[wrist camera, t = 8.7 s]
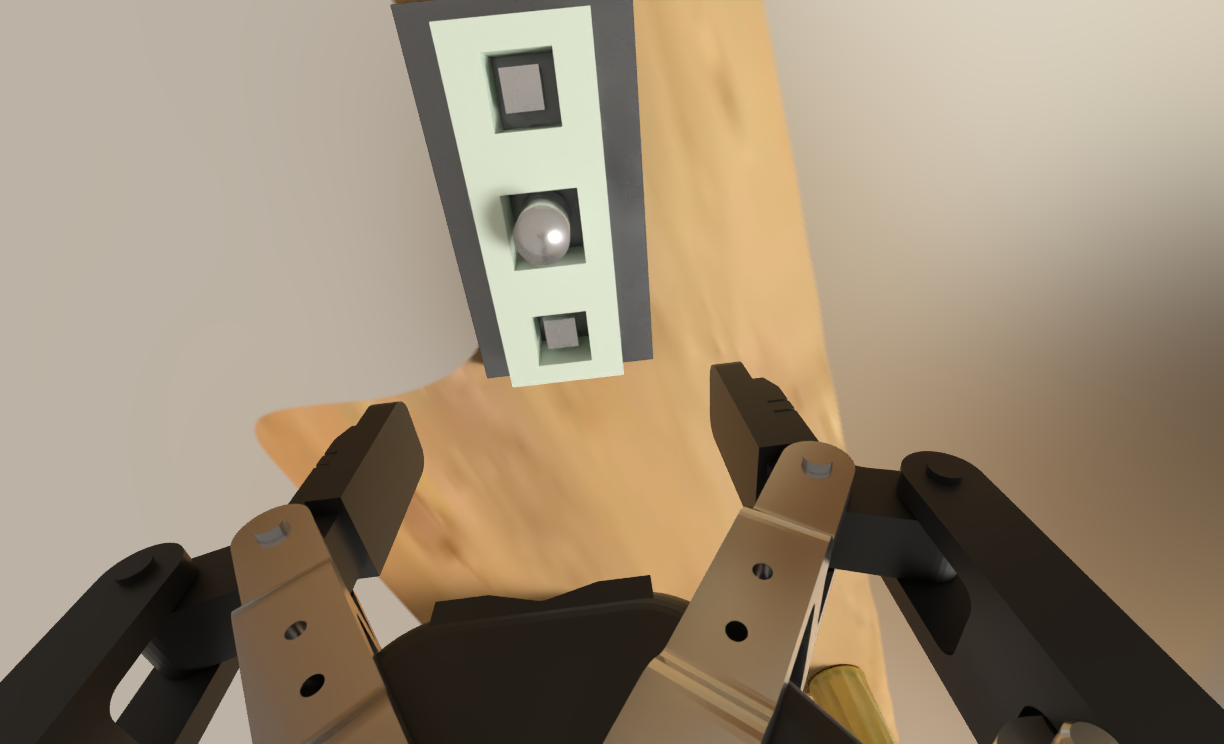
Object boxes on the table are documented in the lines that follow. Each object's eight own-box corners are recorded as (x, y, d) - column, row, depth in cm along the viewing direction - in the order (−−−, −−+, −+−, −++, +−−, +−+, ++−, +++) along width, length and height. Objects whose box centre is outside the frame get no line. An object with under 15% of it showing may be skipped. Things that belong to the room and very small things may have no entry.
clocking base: (649, 347, 30) (665, 399, 25) (491, 366, 30) (474, 422, 25) (628, -14, 21) (646, -49, 16) (401, 10, 21) (346, -18, 16)
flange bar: (619, 349, 29) (624, 374, 26) (518, 360, 28) (512, 387, 26) (588, 16, 21) (590, 5, 18) (446, 30, 20) (429, 21, 18)
